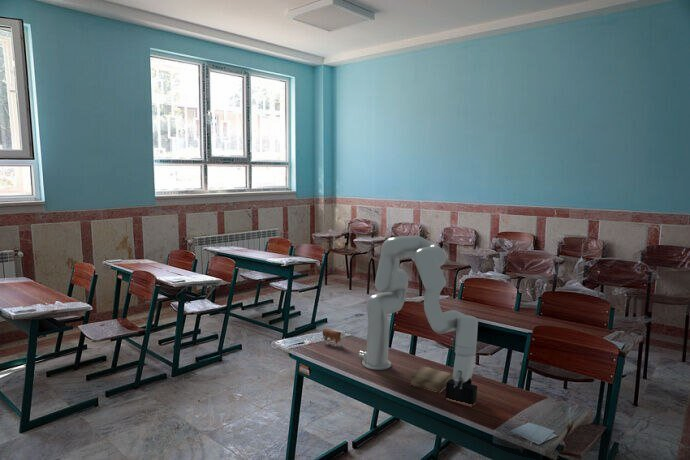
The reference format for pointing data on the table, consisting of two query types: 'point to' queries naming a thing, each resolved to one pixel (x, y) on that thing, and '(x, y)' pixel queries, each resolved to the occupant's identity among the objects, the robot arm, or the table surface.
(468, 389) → the digital camera
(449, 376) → the plinth
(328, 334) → the bull figurine
